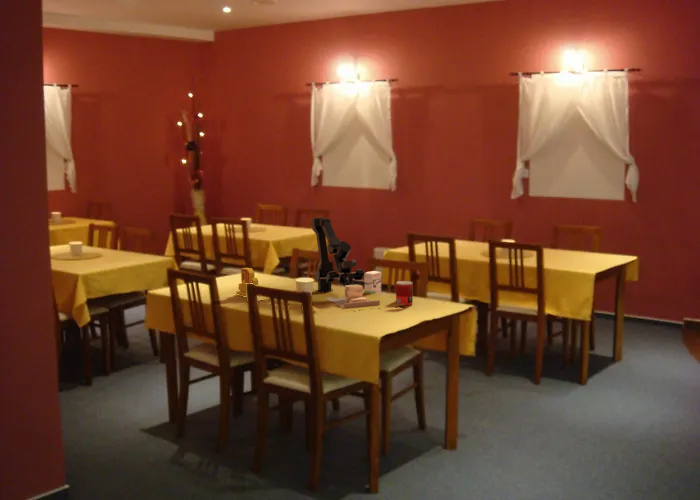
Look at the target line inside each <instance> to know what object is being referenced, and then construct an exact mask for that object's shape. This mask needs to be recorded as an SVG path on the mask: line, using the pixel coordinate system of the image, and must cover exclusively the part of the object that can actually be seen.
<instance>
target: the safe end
mask: <svg viewBox="0 0 700 500" xmlns="http://www.w3.org/2000/svg"><path fill="white" fill-rule="evenodd" d="M380 301H381V300H380V299H377V300H370V301H368V300H367V301H365V302H354V303H344V305H338V306H339V307H341V308H343V309H351V308H361V307H362V308H364V307H370V306H379V305H380V304H381V302H380ZM371 309H374V308H373V307H372V308H370V310H371ZM362 310H364V309H360V311H362ZM351 311H353V312H354V309H353V310H350V312H351Z"/></svg>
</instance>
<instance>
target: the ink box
mask: <svg viewBox="0 0 700 500" xmlns="http://www.w3.org/2000/svg"><path fill="white" fill-rule="evenodd" d="M363 277H364V294H370V295H373V294H378V295H381V294H382V271H377V270H372V271H367V272H365V274H364V276H363Z"/></svg>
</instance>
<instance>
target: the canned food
mask: <svg viewBox="0 0 700 500" xmlns="http://www.w3.org/2000/svg"><path fill="white" fill-rule="evenodd" d="M413 288H414V285H413V281H411V280H410V281H409V280H400V281H399V280H398V281H396V282H395V303H396V304H400V307H403V306H407V307H412V305H413V303H414V302H413V295H414V292H413V291H414V290H413ZM401 304H402V305H401Z"/></svg>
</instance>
